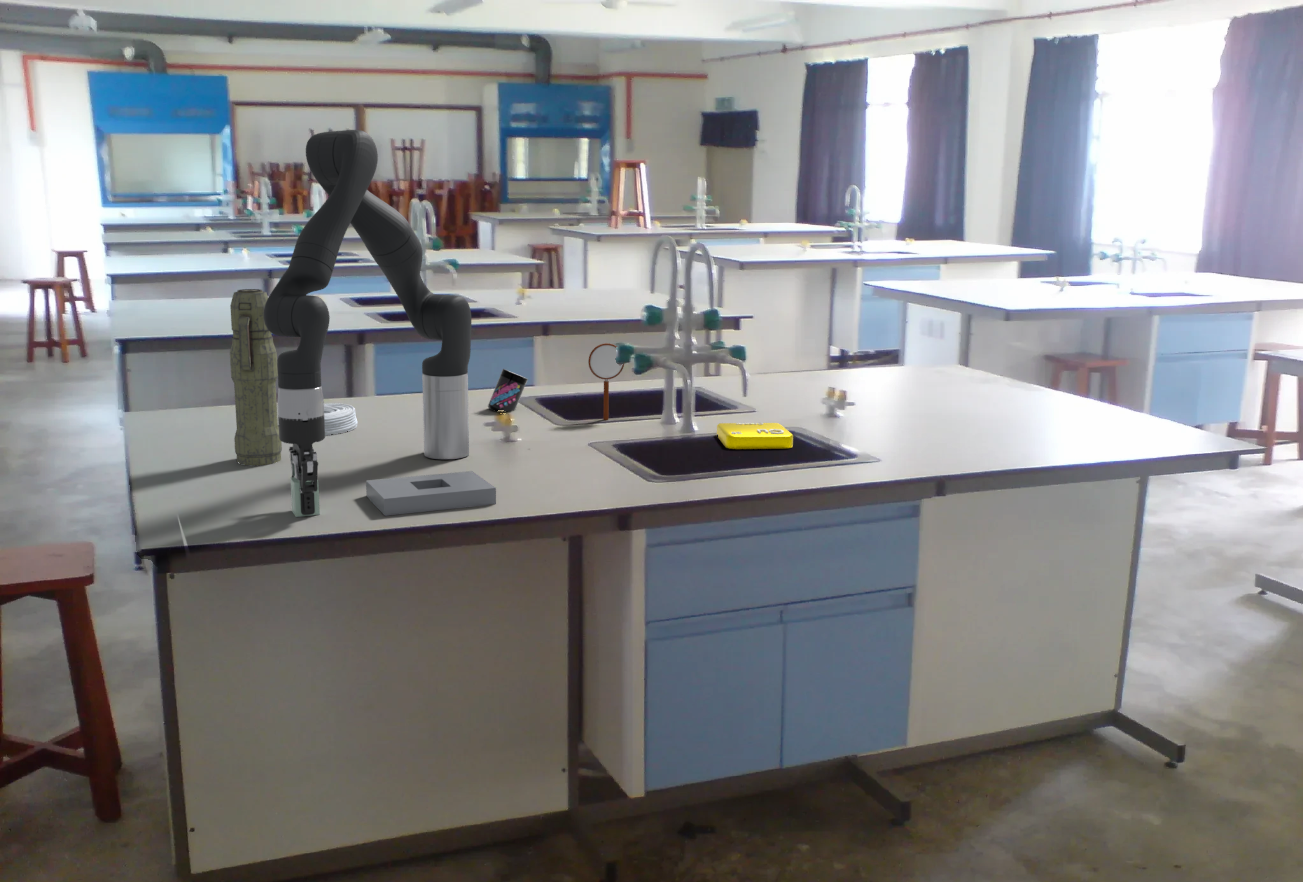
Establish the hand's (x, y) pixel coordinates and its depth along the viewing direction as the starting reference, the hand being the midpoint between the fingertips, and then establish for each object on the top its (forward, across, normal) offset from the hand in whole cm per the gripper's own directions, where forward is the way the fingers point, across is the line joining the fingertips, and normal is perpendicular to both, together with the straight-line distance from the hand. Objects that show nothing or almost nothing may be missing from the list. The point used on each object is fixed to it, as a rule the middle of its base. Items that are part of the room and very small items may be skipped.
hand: (305, 510), depth 202 cm
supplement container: (+1, -71, +61) cm, 94 cm away
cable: (+1, -67, +14) cm, 68 cm away
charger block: (+1, 0, 0) cm, 1 cm away
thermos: (+1, -41, -2) cm, 41 cm away
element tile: (+1, -18, +101) cm, 102 cm away
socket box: (0, 0, +22) cm, 22 cm away
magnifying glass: (+1, -51, +79) cm, 94 cm away
